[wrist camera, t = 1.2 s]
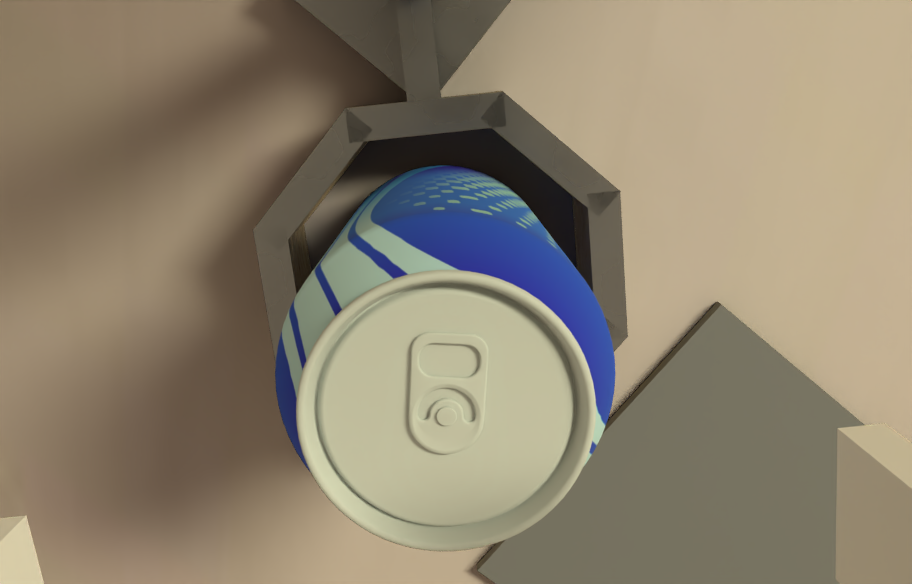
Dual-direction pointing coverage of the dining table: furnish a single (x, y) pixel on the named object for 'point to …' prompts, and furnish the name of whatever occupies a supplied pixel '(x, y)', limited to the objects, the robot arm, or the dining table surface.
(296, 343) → the beer can
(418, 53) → the ring stand
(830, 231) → the dining table surface
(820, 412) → the rubber mat
